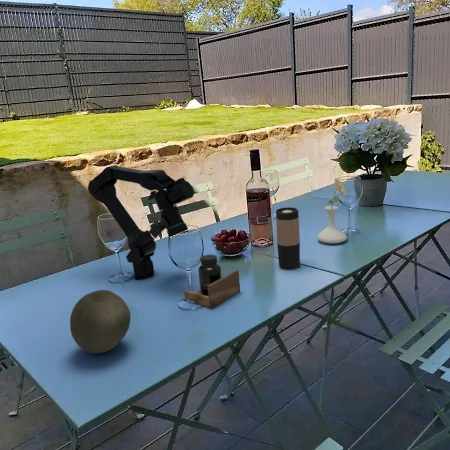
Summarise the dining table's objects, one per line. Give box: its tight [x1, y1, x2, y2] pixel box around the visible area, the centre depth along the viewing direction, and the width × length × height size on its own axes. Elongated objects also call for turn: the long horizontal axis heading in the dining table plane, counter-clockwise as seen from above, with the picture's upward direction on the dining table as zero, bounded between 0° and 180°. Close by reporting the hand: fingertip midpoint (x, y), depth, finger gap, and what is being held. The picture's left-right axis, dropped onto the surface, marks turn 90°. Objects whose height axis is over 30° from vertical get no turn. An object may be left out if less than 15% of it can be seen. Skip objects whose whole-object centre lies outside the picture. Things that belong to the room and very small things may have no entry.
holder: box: [183, 269, 241, 310], centre depth 130 cm, size 11×13×7 cm
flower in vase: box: [316, 177, 348, 244], centre depth 167 cm, size 13×11×25 cm
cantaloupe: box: [69, 289, 132, 355], centre depth 105 cm, size 14×14×15 cm
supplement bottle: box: [197, 254, 222, 296], centre depth 129 cm, size 7×7×12 cm
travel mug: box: [275, 207, 301, 271], centre depth 146 cm, size 8×8×20 cm
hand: (187, 252), depth 139 cm, fingers open, 9 cm apart
